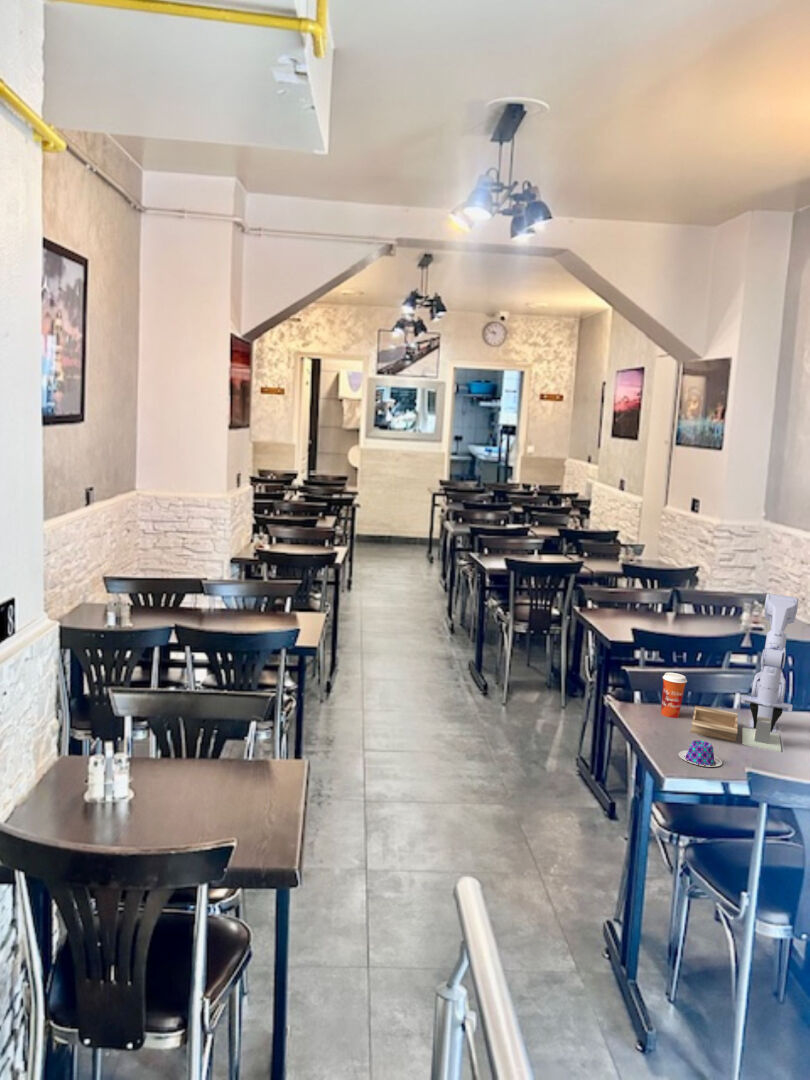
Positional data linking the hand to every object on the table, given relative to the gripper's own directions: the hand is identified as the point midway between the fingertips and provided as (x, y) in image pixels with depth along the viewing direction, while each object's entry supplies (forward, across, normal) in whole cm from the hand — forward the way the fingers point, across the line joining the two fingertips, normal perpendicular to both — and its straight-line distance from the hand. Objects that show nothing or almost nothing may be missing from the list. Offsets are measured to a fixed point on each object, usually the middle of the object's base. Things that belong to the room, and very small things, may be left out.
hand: (762, 729), depth 269 cm
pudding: (+5, -17, -28) cm, 33 cm away
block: (+3, 0, +1) cm, 3 cm away
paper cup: (+4, -28, +9) cm, 30 cm away
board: (+4, 0, +1) cm, 4 cm away
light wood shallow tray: (+4, -14, +1) cm, 15 cm away
